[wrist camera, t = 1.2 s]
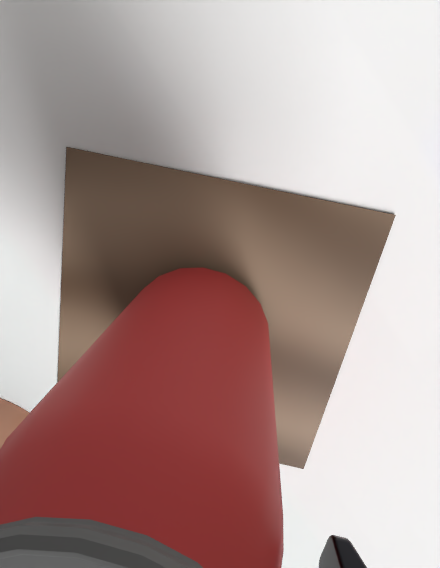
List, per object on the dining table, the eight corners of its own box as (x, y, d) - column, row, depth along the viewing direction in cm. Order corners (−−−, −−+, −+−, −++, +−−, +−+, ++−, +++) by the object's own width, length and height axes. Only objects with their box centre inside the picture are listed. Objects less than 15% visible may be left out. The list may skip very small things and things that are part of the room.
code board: (301, 460, 19) (303, 469, 19) (62, 405, 20) (56, 412, 19) (390, 213, 15) (395, 215, 14) (73, 147, 15) (65, 146, 15)
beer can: (107, 330, 17) (-173, 642, 6) (191, 233, 15) (5, 426, 4) (207, 409, 18) (127, 807, 7) (298, 327, 16) (395, 700, 5)
